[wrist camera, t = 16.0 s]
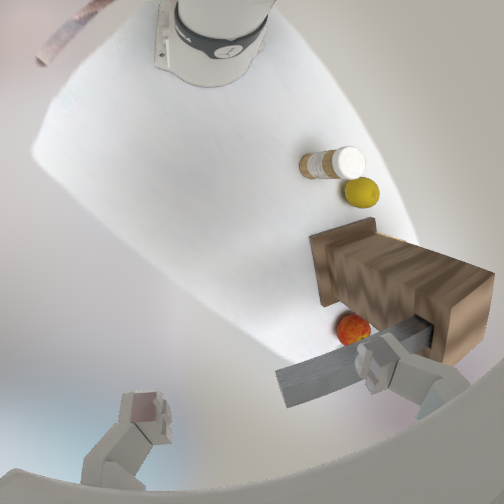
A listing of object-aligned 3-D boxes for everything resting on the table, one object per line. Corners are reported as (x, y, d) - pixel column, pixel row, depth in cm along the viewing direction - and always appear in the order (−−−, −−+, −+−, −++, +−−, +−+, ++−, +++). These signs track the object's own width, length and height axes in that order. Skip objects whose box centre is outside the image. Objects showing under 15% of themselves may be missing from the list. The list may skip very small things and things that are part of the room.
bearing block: (309, 236, 49) (441, 298, 21) (370, 217, 51) (502, 252, 23) (320, 304, 53) (424, 396, 25) (376, 280, 55) (487, 343, 27)
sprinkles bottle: (325, 162, 47) (371, 157, 34) (315, 184, 47) (359, 186, 34) (304, 149, 45) (346, 139, 32) (293, 171, 46) (333, 168, 33)
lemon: (364, 184, 49) (391, 185, 42) (355, 210, 50) (381, 215, 43) (342, 172, 48) (368, 171, 40) (333, 199, 49) (358, 203, 41)
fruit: (330, 314, 54) (350, 332, 47) (358, 304, 56) (380, 320, 48) (331, 341, 56) (350, 361, 49) (358, 331, 57) (378, 348, 50)
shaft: (275, 370, 27) (281, 389, 24) (452, 294, 29) (467, 303, 26) (280, 389, 28) (286, 408, 25) (450, 314, 30) (464, 323, 27)
